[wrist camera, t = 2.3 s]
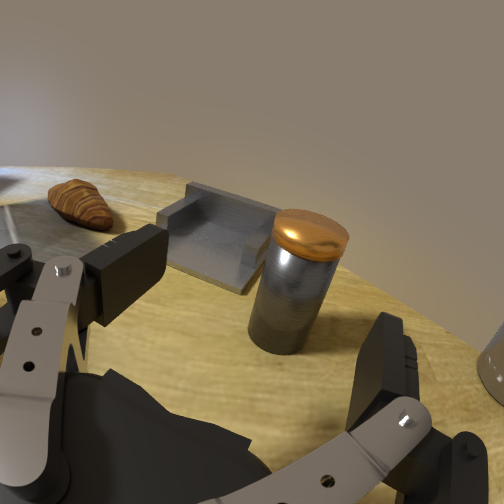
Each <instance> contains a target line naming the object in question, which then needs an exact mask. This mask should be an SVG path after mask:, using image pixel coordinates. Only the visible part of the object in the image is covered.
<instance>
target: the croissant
mask: <svg viewBox="0 0 504 504" xmlns="http://www.w3.org/2000/svg"><path fill="white" fill-rule="evenodd" d="M48 202H49V203H50V205H51V206H52V208H53V209H55V211H56V212H57V213H58V214H59V215H60V216H61V217H62V218H64V219H66V220H69V221H71V222H75V223H78V224H79V225H81V226H84V227H88V228H91V229H96V230H109V229H110V228H111V227H112V225H113V218H112V215H111V212H110V209H109V207H108V205H107V204H106V202H105V201H104V199H103V198H102V196H101V195H100V194H99V192H98V190H97V188H96V187H95V186H93V185H92V184H91V183H89V182H86V181H83V180H79V179H73V180H70V181H68V182H66V183H62V184H58V185H55V186H54V187H52V188H51V189H49V191H48Z"/></svg>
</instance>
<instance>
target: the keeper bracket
mask: <svg viewBox="0 0 504 504" xmlns="http://www.w3.org/2000/svg"><path fill="white" fill-rule="evenodd" d="M279 211H282V210H281V209H278V208H275V207H272V206H269V205H266V204H263V203H260V202H257V201H254V200H251V199H248V198H244V197H241V196H238V195H235V194H232V193H229V192H226V191H222V190H219V189H216V188H212V187H209V186H206V185H203V184H199V183H196V182H190V183H188V184H186V191H185V198H183V199H181V200H179V201H177V202H175V203H173V204H172V205H170V206H168V207H166V208H164V209H162V210H161V211H159V212H157V217H156V226H158V227H161V228H164V229H166V230H168V232H169V243H168V253H167V263H166V265H168V266H171V267H173V268H175V269H178V270H180V271H183V272H185V273H187V274H190V275H192V276H195V277H197V278H200V279H202V280H204V281H207V282H209V283H212V284H214V285H217V286H219V287H222V288H224V289H227V290H229V291H232V292H234V293H237V294H239V295H240V294H241V293H242V292H243V290H244V289H245V287H246V286H247V285H248V283H249V282H250V281H251V279H252V278H253V276H254V275H255V274H256V272H257V271H258V269H259V268H260V267H261V265H262V264H263V262H264V261H265V260H266V257H267V253H268V249H269V245H270V241H271V238H272V235H271V232H272V228H273V224H274V220H275V216H276V214H277V213H278V212H279Z"/></svg>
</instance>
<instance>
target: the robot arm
mask: <svg viewBox="0 0 504 504" xmlns="http://www.w3.org/2000/svg"><path fill="white" fill-rule="evenodd" d="M168 243H169V232H168V230H166V229H164V228H161V227H158V226H156V225H153V224H147V225H145V226H143V227H142V228H140V229H138V230H136V231H131V232H127V233H123V234H121V235H119V236H117V237H115V238H114V239H112V241H111V240H110V241H108V242H107V243H105V244H104V245H101V246H100V247H98V248H96V249H95V250H93V251H91V252H90V253H88V254H86V255H85V256H83V257H81V258H80V259H78V258H76V257H72V256H59V257H55V258H53V259H51V260H49V261H48V262H47V263H42V262H38V261H34V260H33V259H32V252H31V248H30V247H29V246H27V245H25V244H11V245H8V246H6V247H4V248H2V249H0V292H1V291H2V290H5V294H6V298H7V302H8V303H6V304H5V305H4V306H2V307H1V308H0V355H1V354H2V353H3V352H4V351H5V352H4V356H3V359H2V363H1V367H0V504H355V503H356V502H357V501H358V500H360V499H361V498H362V497H363V496H365V495H366V494H367V493H368V492H369V491H371V490H372V489H373V488H374V487H375V486H376V485H377V484H379V483H380V482H383V483H385V484H386V485H388V486H390V487H392V488H393V489H395V490H397V494H396V499H395V504H488V457H487V450H486V447H485V445H484V443H483V441H482V440H481V439H480V438H479V437H478V436H477V435H475V434H473V433H471V432H467V431H464V432H460V433H458V434H457V435H456V436H455V437H454V438H453V439H451V438H450V437H448V436H446V435H444V434H443V433H441V432H439V431H438V430H436V429H434V428H433V427H432V419H431V415H430V413H429V411H428V410H427V408H426V407H425V406H424V405H423V404H422V403H421V402H420V396H419V377H418V371H417V370H418V363H417V362H416V361H417V352H416V347H415V345H414V343H413V342H412V340H411V338H410V337H409V336H406V335H403V321H402V319H401V318H399V317H396V316H393V315H391V314H388V313H385V312H381V313H380V314H379V316H378V318H377V320H376V321H375V323H374V325H373V327H372V329H371V331H370V332H369V334H368V336H367V338H366V339H365V341H364V343H363V345H362V347H361V349H360V351H359V354H358V357H357V362H356V369H355V376H354V382H353V389H352V395H351V401H350V406H349V412H348V417H347V423H346V428H345V432H343V433H341V434H339V435H338V436H336V437H335V438H333V439H332V440H330V441H328V442H327V443H325V444H324V445H322V446H320V447H319V448H317V449H315V450H314V451H312V452H310V453H309V454H307V455H305V456H304V457H302V458H300V459H298V460H297V461H295V462H293V463H291V464H289V465H288V466H286V467H284V468H282V469H280V470H278V471H276V472H275V473H273V474H272V472H271V471H270V470H269V468H268V467H267V466H266V465H265V464H264V463H263V462H262V461H261V460H260V459H259V458H258V457H257V456H255V455H254V454H253V453H251V452H250V451H248V448H249V446H250V444H251V441H252V440H251V439H248V438H246V437H243V436H241V435H238V434H236V433H234V432H231V431H229V430H227V429H224V428H222V427H220V426H218V425H215V424H212V423H208V422H204V421H199V420H195V419H191V418H187V417H183V416H179V415H176V414H173V413H170V412H169V411H167V410H166V409H165V408H164V407H163V406H162V405H161V404H159V403H158V402H157V401H156V400H155V399H154V398H153V397H152V396H151V395H149V394H148V393H147V392H146V391H145V390H144V389H143V388H142V387H141V386H139V385H137V384H136V383H134V382H132V381H130V380H129V379H127V378H125V377H124V376H122V375H120V374H119V373H117V372H116V371H114V370H112V369H111V368H110V369H109V370H108V371H107V372H106V373H105V374H104V375H103V376H100V375H96V374H91V373H87V362H88V349H89V337H90V324H91V323H92V322H93V321H95V322H97V323H99V324H100V325H102V326H103V327H106V326H107V325H108V324H110V323H111V322H112V321H113V320H114V319H115V318H116V317H118V316H119V315H120V314H121V313H122V312H123V311H125V310H126V309H127V308H128V307H129V306H130V305H131V304H133V303H134V302H135V301H136V300H137V299H139V298H140V297H141V296H142V295H143V294H144V293H146V292H147V291H148V290H149V289H150V288H151V287H153V286H154V285H155V284H156V283H157V282H159V281H160V279H161V278H162V276H163V275H164V272H165V269H166V263H167V253H168ZM477 367H478V373H479V375H480V378H481V380H482V382H483V384H484V386H485V387H486V389H487V390H488V391H489V393H490V394H491V395H492V396H493V397H494V398H495V399H496V400H497V401H498V402H499V403H501V404H502V405H504V322H503V323H502V325H501V326H500V328H499V329H498V331H497V332H496V334H495V335H494V337H493V338H492V340H491V341H490V342H489V344H488V345H487V347H486V348H485V349H484V351H483V352H482V353H481V355H480V356H479V358H478V361H477Z"/></svg>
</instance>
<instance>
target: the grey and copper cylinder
mask: <svg viewBox="0 0 504 504" xmlns="http://www.w3.org/2000/svg"><path fill="white" fill-rule="evenodd" d="M271 235H272V238H271V241H270V245H269V249H268V253H267V257H266V261H265V264H264V268H263V272H262V276H261V280H260V283H259V287H258V291H257V295H256V298H255V302H254V306H253V310H252V313H251V317H250V321H249V324H248V334H249V336H250V338H251V340H252V341H253V342H254V343H255V344H256V345H257V346H258V347H259V348H261V349H263V350H264V351H267V352H269V353H272V354H276V355H290V354H294V353H297V352H298V351H300V350H301V349H302V348H303V347H304V345H305V343H306V341H307V338H308V336H309V334H310V331H311V329H312V327H313V324H314V322H315V320H316V317H317V315H318V313H319V310H320V308H321V305H322V303H323V300H324V298H325V296H326V293H327V291H328V288H329V286H330V283H331V281H332V278H333V275H334V273H335V270H336V268H337V265H338V262H339V260H340V258H341V257H342V256H343V253H344V251H345V248H346V245H347V243H348V240H349V234H348V232H347V231H346V230H345V229H344V228H343V227H342V226H341V225H340V224H338V223H337V222H335V221H333V220H332V219H330V218H328V217H325V216H323V215H320V214H317V213H314V212H310V211H306V210H300V209H286V210H282V211H279V212H278V213H277V214H276V216H275V220H274V224H273V228H272V232H271Z"/></svg>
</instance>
